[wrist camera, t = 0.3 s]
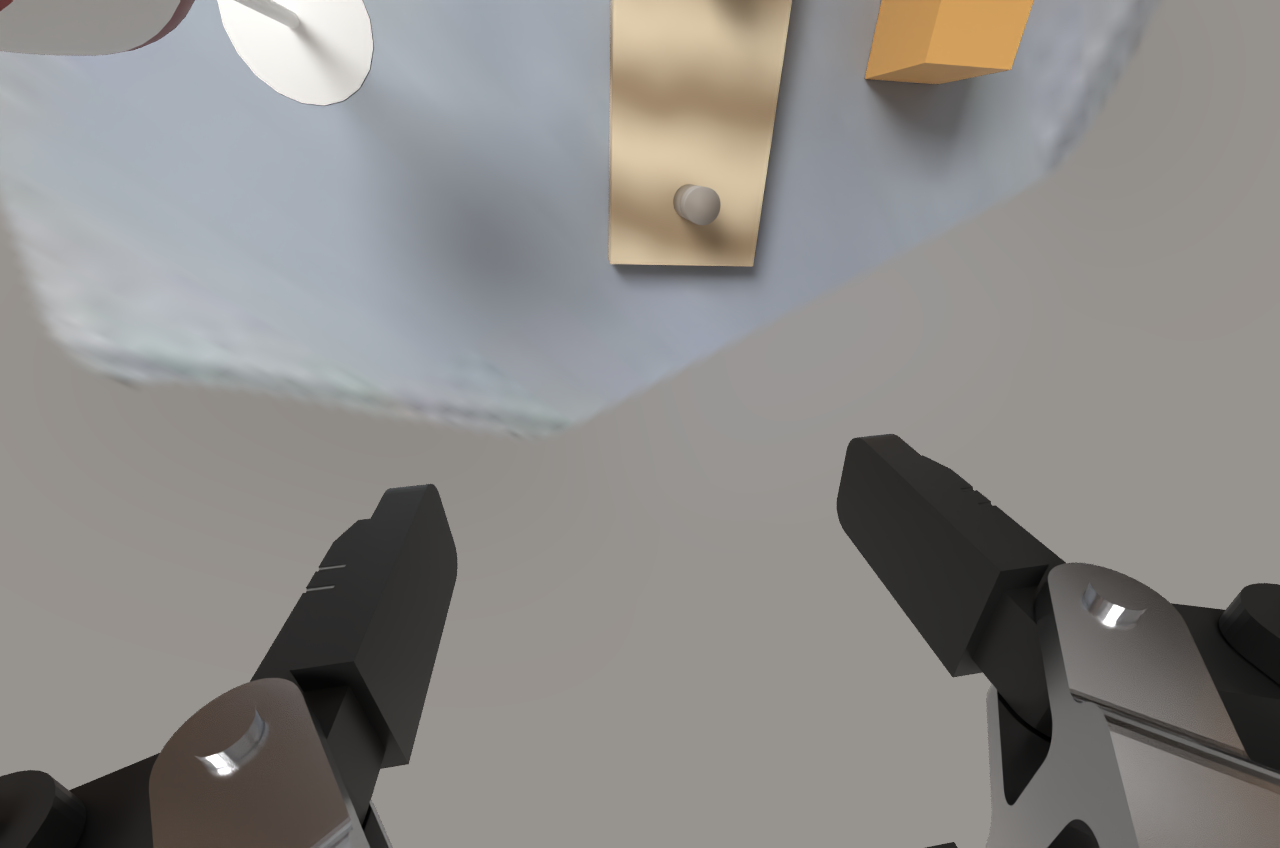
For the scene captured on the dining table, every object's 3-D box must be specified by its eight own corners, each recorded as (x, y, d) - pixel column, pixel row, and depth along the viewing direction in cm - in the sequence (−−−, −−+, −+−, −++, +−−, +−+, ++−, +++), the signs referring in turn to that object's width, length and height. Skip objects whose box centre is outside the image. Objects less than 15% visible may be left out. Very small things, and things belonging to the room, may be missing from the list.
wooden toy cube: (887, -28, 29) (959, -71, 23) (966, -20, 29) (1053, -59, 24) (864, 79, 31) (925, 62, 26) (937, 84, 32) (1011, 69, 27)
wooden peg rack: (612, -148, 25) (624, -231, 20) (796, -124, 26) (854, -194, 21) (608, 258, 34) (615, 276, 29) (743, 261, 36) (774, 278, 30)
